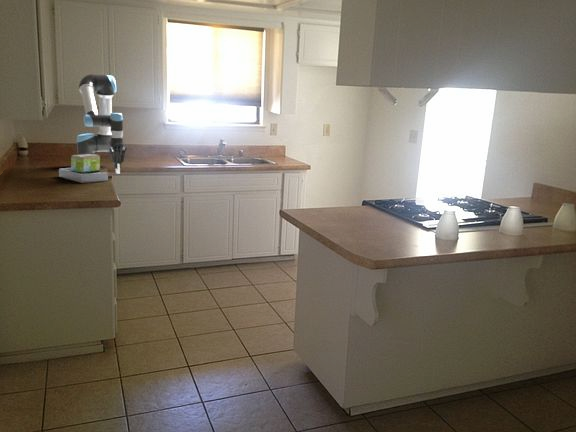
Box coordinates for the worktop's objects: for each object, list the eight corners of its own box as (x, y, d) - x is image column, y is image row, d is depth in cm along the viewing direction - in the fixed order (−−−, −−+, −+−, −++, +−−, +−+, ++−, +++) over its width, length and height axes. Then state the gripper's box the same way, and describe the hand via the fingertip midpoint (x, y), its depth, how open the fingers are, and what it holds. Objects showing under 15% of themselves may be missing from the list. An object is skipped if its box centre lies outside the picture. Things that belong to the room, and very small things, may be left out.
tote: (84, 174, 343) (84, 166, 342) (108, 180, 324) (107, 172, 323) (59, 176, 330) (58, 168, 329) (82, 183, 312) (82, 174, 311)
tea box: (84, 180, 320) (83, 156, 317) (71, 179, 323) (69, 155, 320) (100, 177, 334) (100, 154, 330) (88, 176, 337) (87, 153, 334)
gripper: (122, 136, 347) (123, 172, 352) (104, 137, 337) (105, 173, 342) (129, 137, 342) (129, 173, 347) (110, 138, 332) (111, 174, 338)
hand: (117, 173), depth 345 cm, fingers closed
